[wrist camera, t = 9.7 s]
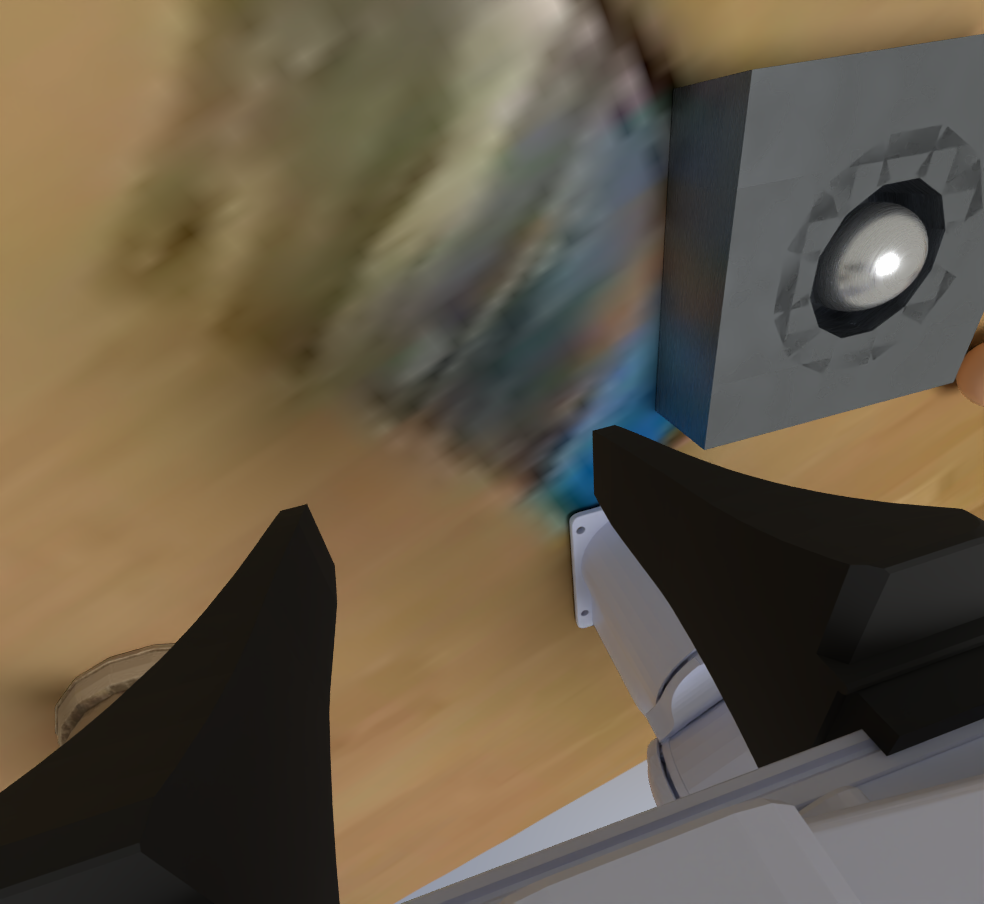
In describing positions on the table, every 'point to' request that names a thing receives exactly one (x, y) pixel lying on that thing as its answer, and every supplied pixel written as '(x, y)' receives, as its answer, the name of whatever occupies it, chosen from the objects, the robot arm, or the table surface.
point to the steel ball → (870, 257)
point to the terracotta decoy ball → (972, 375)
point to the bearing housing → (817, 236)
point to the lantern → (102, 688)
